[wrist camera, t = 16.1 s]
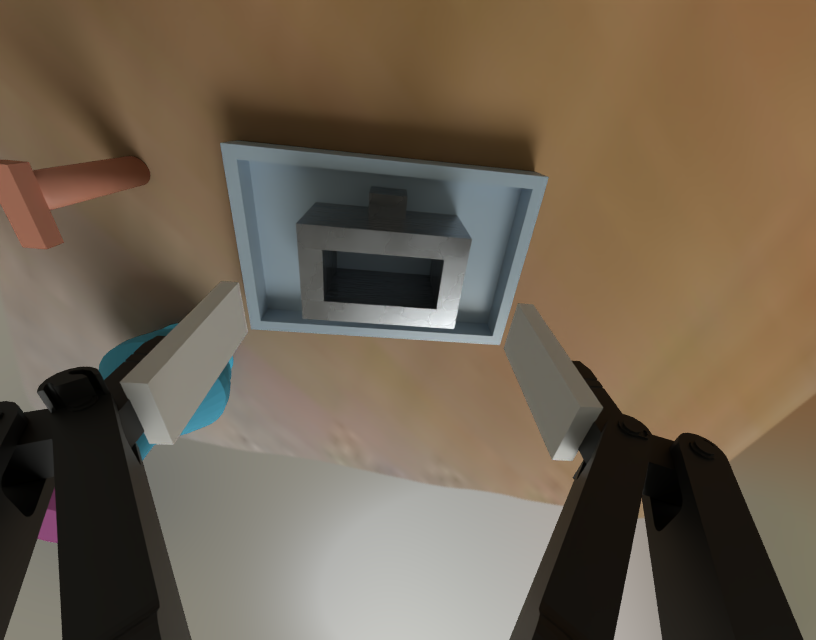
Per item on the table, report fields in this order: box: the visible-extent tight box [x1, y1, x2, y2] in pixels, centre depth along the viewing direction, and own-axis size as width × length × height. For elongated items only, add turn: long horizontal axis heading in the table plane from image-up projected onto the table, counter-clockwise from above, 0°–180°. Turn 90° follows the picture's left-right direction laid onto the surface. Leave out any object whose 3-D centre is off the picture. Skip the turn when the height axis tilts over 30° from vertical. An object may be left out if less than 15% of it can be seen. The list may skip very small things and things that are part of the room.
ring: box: [296, 186, 472, 329], centre depth 23 cm, size 10×8×6 cm
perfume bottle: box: [37, 323, 233, 543], centre depth 24 cm, size 9×9×15 cm
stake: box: [0, 156, 150, 249], centre depth 19 cm, size 4×2×9 cm, turn 174°
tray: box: [220, 140, 549, 345], centre depth 25 cm, size 13×20×2 cm, turn 84°
